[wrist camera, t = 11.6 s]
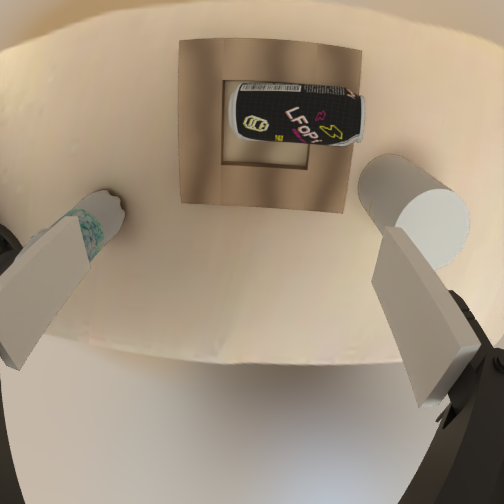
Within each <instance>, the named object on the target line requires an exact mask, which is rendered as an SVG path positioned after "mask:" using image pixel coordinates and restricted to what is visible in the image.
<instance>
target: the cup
mask: <svg viewBox="0 0 504 504" xmlns="http://www.w3.org/2000/svg"><path fill="white" fill-rule="evenodd" d="M358 195H359V199H360V201H361V203H362V205H363V207H364V208H365V210H366V211H367V213H368V214H369V216H370V217H371V219H372V220H373V222H374V223H375V225H376V226H377V228H378V229H379V231H380V232H381V234H382V235H383V233H384V229H385V226H390V227H401V228H402V229H403V230H404V231H405V233H406V234H407V235H408V236H409V238H410V239H411V240H412V242H413V243H414V244H415V245H416V247H417V248H418V249H419V251H420V252H421V253H422V255H423V256H424V257H425V259H426V260H427V261H428V263H429V264H430V266H431V267H432V268H433V270H434V271H436V270H438V269H440V268H442V267H444V266H446V265H447V264H448V263H450V262H451V261H452V260H453V259H454V258H455V257H456V256H457V255H458V254H459V252H460V251H461V249H462V248H463V246H464V244H465V242H466V240H467V237H468V234H469V229H470V215H469V211H468V208H467V206H466V204H465V202H464V200H463V199H462V198H461V197H460V196H459V195H458V194H456V193H455V192H454V191H452V190H451V189H450V188H448V187H447V186H445V185H444V184H443V183H441V182H440V181H438V180H437V179H436V178H434V177H433V176H431V175H430V174H428V173H427V172H425V171H424V170H422V169H421V168H419V167H418V166H416V165H415V164H413V163H412V162H410V161H409V160H407V159H405V158H404V157H402V156H399V155H394V154H387V155H382V156H379V157H377V158H375V159H374V160H372V161H371V162H370V163H369V164H368V165H367V166H366V167H365V168H364V170H363V171H362V173H361V176H360V178H359V182H358Z"/></svg>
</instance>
